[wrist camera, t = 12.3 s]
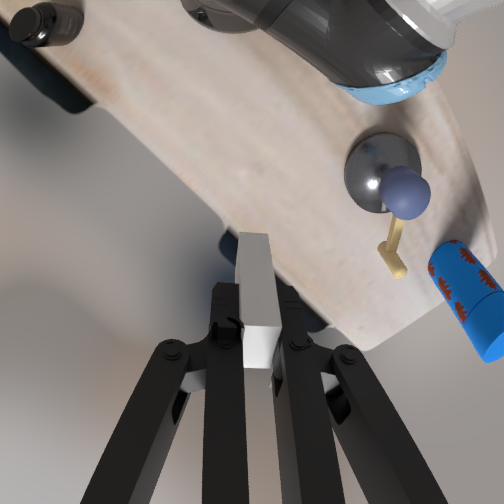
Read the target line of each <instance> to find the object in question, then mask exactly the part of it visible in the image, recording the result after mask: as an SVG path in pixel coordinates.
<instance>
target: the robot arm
mask: <svg viewBox="0 0 504 504" xmlns="http://www.w3.org/2000/svg"><path fill="white" fill-rule="evenodd" d="M180 1H181V3H182V5H183V7H184V9H185V10H186V12H187V13H188V14H189V15H190V16H191V17H192V18H193V19H194V20H195V21H196V22H198V23H199V24H201V25H202V26H204V27H206V28H208V29H211V30H214V31H217V32H222V33H232V34H234V33H246V32H250V31H254V30H257V29H259V28H260V29H262V30H263V31H265V32H266V33H267V34H269V35H270V36H272V37H273V38H275V39H276V40H278V41H279V42H280V43H282V44H283V45H285V46H286V47H288V48H289V49H291V50H292V51H293V52H295V53H296V54H297V55H299V56H300V57H302V58H303V59H304V60H306V61H307V62H308V63H310V64H311V65H312V66H314V67H315V68H316V69H317V70H319V71H320V72H321V73H323V74H324V75H325V76H326V77H327V78H328V79H329V80H330V81H331V82H332V83H334V84H335V85H336V86H338V87H340V88H343V89H344V90H345V91H347V92H348V93H349V94H351V95H352V96H353V97H354V98H356V99H357V100H359V101H361V102H364V103H367V104H372V105H385V104H391V103H395V102H399V101H402V100H404V99H407V98H409V97H411V96H413V95H415V94H417V93H418V92H420V91H422V90H423V89H424V88H426V85H425V84H426V83H427V82H429V81H434V80H435V79H436V78H437V77H438V76H439V75H440V73H441V72H442V70H443V68H444V66H445V64H446V60H447V52H446V50H447V49H449V48H451V47H453V45H454V44H455V36H456V28H457V26H458V24H459V23H461V22H463V21H465V20H467V19H469V18H471V17H474V16H476V15H478V14H480V13H482V12H485V11H487V10H489V9H491V8H493V7H496V6H498V5H501V4H503V3H504V0H180ZM268 27H269V28H268ZM267 28H268V29H267ZM272 363H273V373H272V377H271V380H270V383H269V388H271V387H272V391H273V402H274V413H275V423H276V435H277V446H278V457H279V469H280V480H281V492H282V503H283V504H345V499H344V493H343V487H342V481H341V475H340V470H339V464H338V458H337V453H336V447H335V442H334V437H333V431H332V428H333V430H334V432H335V434H336V436H337V438H338V440H339V442H340V445H341V446H342V449H343V451H344V453H345V455H346V457H347V459H348V461H349V463H350V465H351V468H352V470H353V472H354V474H355V476H356V478H357V480H358V482H359V484H360V487H361V489H362V490H363V493H364V495H365V497H366V499H367V501H368V503H369V504H448V502H447V500H446V498H445V497H444V495H443V493H442V491H441V489H440V487H439V485H438V483H437V482H436V480H435V478H434V476H433V474H432V472H431V471H430V469H429V467H428V466H427V463H426V462H425V460H424V458H423V456H422V454H421V453H420V451H419V449H418V447H417V445H416V444H415V442H414V440H413V438H412V437H411V435H410V433H409V431H408V430H407V428H406V426H405V425H404V423H403V421H402V420H401V418H400V416H399V414H398V413H397V411H396V409H395V407H394V406H393V404H392V402H391V401H390V399H389V397H388V396H387V394H386V392H385V391H384V389H383V387H382V386H381V384H380V382H379V381H378V379H377V377H376V376H375V374H374V372H373V371H372V369H371V367H370V366H369V364H368V362H367V361H366V359H365V358H364V356H363V354H362V353H361V352H360V351H359V349H357V348H356V347H354V346H352V345H347V344H345V345H340V346H338V347H336V348H335V350H332V349H328V348H325V347H321V346H319V345H317V344H315V343H314V342H313V340H312V338H311V337H310V336H308V334H307V330H306V325H305V321H304V316H303V312H302V307H301V303H300V298H299V294H298V292H297V291H296V290H295V289H294V287H293V286H282V285H276V283H275V277H274V270H273V264H272V257H271V251H270V245H269V238H268V234H262V233H249V232H240V233H239V242H238V252H237V261H236V270H235V283H222V282H217V284H216V285H215V287H214V288H213V290H212V303H211V316H210V324H209V333H208V335H207V336H206V337H205V338H204V339H203V340H201V341H200V342H197V343H193V344H188V345H186V344H185V343H184V342H182V341H180V340H176V339H169V340H165V341H163V342H161V343H159V344H158V346H157V347H156V348H155V350H154V352H153V354H152V356H151V358H150V360H149V362H148V364H147V366H146V368H145V369H144V371H143V373H142V375H141V377H140V379H139V381H138V383H137V385H136V387H135V389H134V391H133V393H132V395H131V397H130V399H129V401H128V403H127V405H126V407H125V409H124V411H123V413H122V415H121V417H120V419H119V421H118V423H117V426H116V427H115V429H114V431H113V434H112V436H111V438H110V440H109V442H108V444H107V446H106V448H105V450H104V453H103V454H102V456H101V459H100V461H99V463H98V465H97V467H96V470H95V472H94V474H93V476H92V478H91V480H90V483H89V485H88V487H87V489H86V491H85V493H84V496H83V498H82V500H81V502H80V504H149V502H150V500H151V497H152V494H153V492H154V489H155V486H156V483H157V481H158V478H159V476H160V473H161V470H162V468H163V465H164V462H165V460H166V457H167V455H168V452H169V449H170V447H171V444H172V441H173V439H174V436H175V433H176V430H177V428H178V426H179V423H180V420H181V418H182V415H183V412H184V410H185V407H186V405H187V402H188V400H189V397H190V394H191V392H194V391H199V390H203V389H205V411H204V436H203V470H202V504H249V486H248V464H247V441H246V417H245V393H244V368H271V365H272Z"/></svg>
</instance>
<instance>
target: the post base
mask: <svg viewBox="0 0 504 504" xmlns="http://www.w3.org/2000/svg"><path fill="white" fill-rule="evenodd" d="M396 166H407V167H409V168H411V169H412V170H413V171H415V172H416V173H417V174H418V175H420V176H421V171H422V168H421V161H420V157H419V155H418V153H417V151H416V149H415V148H414V147H413V145H412V144H411V143H410V142H408V141H407V140H405V139H404V138H402V137H400V136H398V135H396V134H393V133H386V132H383V133H376V134H373V135H370V136H368V137H366V138H364V139H363V140H362V141H360V142H359V143H358V144H357V145H356V146H355V147H354V148H353V150H352V151H351V153H350V154H349V157H348V159H347V161H346V165H345V169H344V180H345V185H346V188H347V191H348V193H349V194H350V196H351V197H352V199H353V200H354V201H355V202H356V204H357V205H359V206H360V207H361V208H363V209H364V210H366V211H369V212H372V213H388V212H391V211H390V210H389V209H388V208H387V207H386V205H385V204H384V203H383V202H382V201H381V199H380V196H379V183H380V181H381V179H382V177H383V175H384V174H385V173H386V172H387V171H388V170H390V169H391V168H393V167H396Z"/></svg>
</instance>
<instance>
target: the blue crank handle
mask: <svg viewBox="0 0 504 504" xmlns="http://www.w3.org/2000/svg"><path fill="white" fill-rule="evenodd" d="M379 196H380V199H381V201H382V202H383V203H384V204H385V205H386V207H387V208H388V209H389V210H390V211H391V212H392V214H393V218H392V222H391V226H390V230H389V234H388V238H387V241H383V242H381V243H380V244H379V246H378V251H379V253H380V255H381V256H382V258H383V259H384V261H385V263H386V264H387V266H388V268H389V269H390V271H391V273H392V274H393V276H394V278H396V279H401V278H403V277H404V276H405V275H406V273H407V268H406V266H405V265H404V263H403V262H402V260H401V259H400V257H399V256H398V254H397V253H396V251H397V248H398V244H399V240H400V237H401V233H402V229H403V225H404V221H405V220H411V219H414V218H416V217H418V216H419V215H421V214H422V213H423V212H424V211H425V209H426V208H427V206H428V204H429V201H430V196H431V191H430V187H429V184H428V183H427V181H426V180H425V179H423V178H422V177H421V176H420V175H418V174H417V173H416V172H415V171H413V170H412V169H411V168H409V167H407V166H396V167H393V168H391V169H390V170H388V171H387V172H386V173H385V174H384V175H383V177H382V179H381V181H380V183H379Z"/></svg>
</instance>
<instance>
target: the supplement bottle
mask: <svg viewBox="0 0 504 504" xmlns="http://www.w3.org/2000/svg"><path fill="white" fill-rule="evenodd" d="M82 25H83V16H82V13H81V12H80V10H79V9H77V8H75V7H72V6H68V5H62V4H56V3H50V2H41V3H38V4H36V5H34V6H32V7H27V8H23V9H21V10H19V12H17V13H16V14H15V15H14V17H13V19H12V20H11V23H10V26H9V34H10V37H11V39H12V40H14V41H16V42H22V44H24V45H25V46H27V47H30V48H36V47H50V46H63V45H66V44H69V43H70V42H72V41H73V40H74V39H75V38H76V37H77V36H78V34H79V33H80V31H81V29H82Z"/></svg>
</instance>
